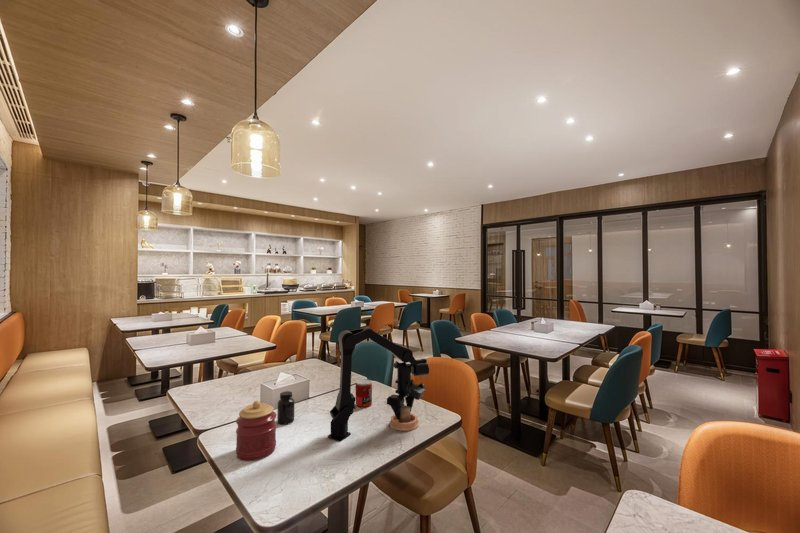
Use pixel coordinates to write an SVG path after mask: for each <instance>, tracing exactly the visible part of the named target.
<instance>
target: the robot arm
mask: <svg viewBox="0 0 800 533" xmlns="http://www.w3.org/2000/svg"><path fill="white" fill-rule="evenodd" d="M337 338H338V344H339V351H340V377H339V390H338V391H339V392H337V393H338V394H337V396H336V401H335V404H334V406H333V407H332V408H331V410H330V411H329V414H330V417H331V418H332V419H331V421H330V433H329V434H328V435H327V438H329V439H332V440H336V441H338V442H342V441H343V440H344V439H346V438H347V437H349V436H351V435H352V434H351V432H349V424H348V423H349V419H350V417H351V416H352V415H353V413H354V411H355V409H356V407H355V406H356V396H354V394H353V393H351V387H352V364H353V353H354V351H355V350H356V345H357V344H359V343H362V342H364V341H365V340H366V341H367V340H368V339H369V340H370V341H372V342H374V343H376V345H379V346H381V347H383V348H385V350H386V349H387V350H388V351H389V352H390V353H391V354H392V355H393V356H394V357H396V359H398V361H397V360H396V361H394V363H393V364H392V365H391V366H392V367H393V368H395V369H397V370H396V373H397V376H396V378H397V379H396V380H395V384H397V385H396V386H397V388H396V389H395V394H391V395H389V396H388V397H387V398H386V405H388V406H390V408H391V409H392V411H393V414H395V415H396V418H397V419H398V420H400V418H401V409H402V407H403V406H404V405H405V404H406V406H409V407H410V413H411V412H412V410H413V409H412V408H413V406H414V405H413V404H414V400H417V401H420V399H422V398H423V396H424V395H425V394H424V393H425V392H426V389H425V388H426V386H425V384H424V383H419V384H415V383H414V382H415V381H414V379H412V375H413V377H421V376H427V375H429V373H430V367H429V364H428V362H427V360H428V359H427V358H420V359H415V357H414V356H413V355H414V354H413V350H412V349H410V348H409V347H406V346H405V345H402V344H399V343H396V342H393V341H391V340H390V339H388V338H387V337H384V336H383V335H381V333H378V332H376V331H375V330H373V329H372V328H371V327H369V326H365V327H362V328H358V329H353V330H345V329H344V330H343V331H341V332H340V333H339V334H338V337H337ZM399 360H400V361H401V362H399Z"/></svg>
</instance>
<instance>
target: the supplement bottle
mask: <svg viewBox="0 0 800 533" xmlns="http://www.w3.org/2000/svg"><path fill="white" fill-rule="evenodd" d="M276 406H277V407H276V408H277V411H276V412H277V413H276V417H277V418H276V419H277V420H276V421H277V424H279V425H282V426H286V425H290V424H292V423H294V421H295V399H294V398H293V392H292V391H288V390H287V391H286V390H285V391H282V392H280V394H279V399H278V401H277V405H276Z"/></svg>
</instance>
